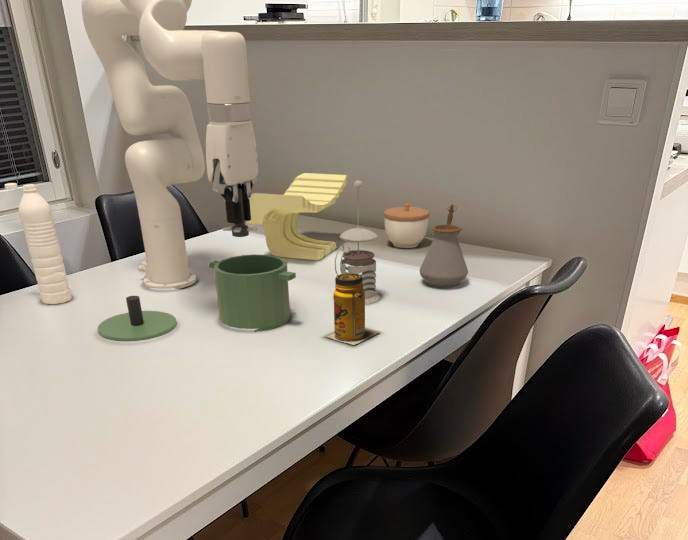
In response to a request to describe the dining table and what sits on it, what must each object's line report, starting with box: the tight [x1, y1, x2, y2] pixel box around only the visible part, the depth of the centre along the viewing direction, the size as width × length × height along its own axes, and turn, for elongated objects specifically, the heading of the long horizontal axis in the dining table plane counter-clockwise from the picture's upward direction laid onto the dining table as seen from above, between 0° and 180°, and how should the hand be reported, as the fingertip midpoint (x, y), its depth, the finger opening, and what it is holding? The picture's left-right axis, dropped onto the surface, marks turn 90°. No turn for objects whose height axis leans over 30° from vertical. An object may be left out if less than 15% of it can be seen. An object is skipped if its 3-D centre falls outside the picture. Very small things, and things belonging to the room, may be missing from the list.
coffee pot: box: [419, 204, 469, 289], centre depth 162 cm, size 21×12×15 cm, turn 168°
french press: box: [334, 179, 381, 305], centre depth 147 cm, size 10×12×25 cm
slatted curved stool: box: [246, 172, 348, 261], centre depth 183 cm, size 30×16×18 cm, turn 159°
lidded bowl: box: [383, 203, 431, 249], centre depth 189 cm, size 13×13×11 cm
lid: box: [97, 295, 178, 342], centre depth 137 cm, size 16×16×7 cm
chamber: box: [208, 254, 297, 332], centre depth 141 cm, size 15×20×12 cm
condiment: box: [325, 272, 380, 346], centre depth 132 cm, size 7×8×12 cm
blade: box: [222, 188, 258, 238], centre depth 129 cm, size 6×6×8 cm
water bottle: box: [4, 182, 73, 305], centre depth 149 cm, size 9×6×25 cm
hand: (239, 220), depth 130 cm, fingers closed on blade
